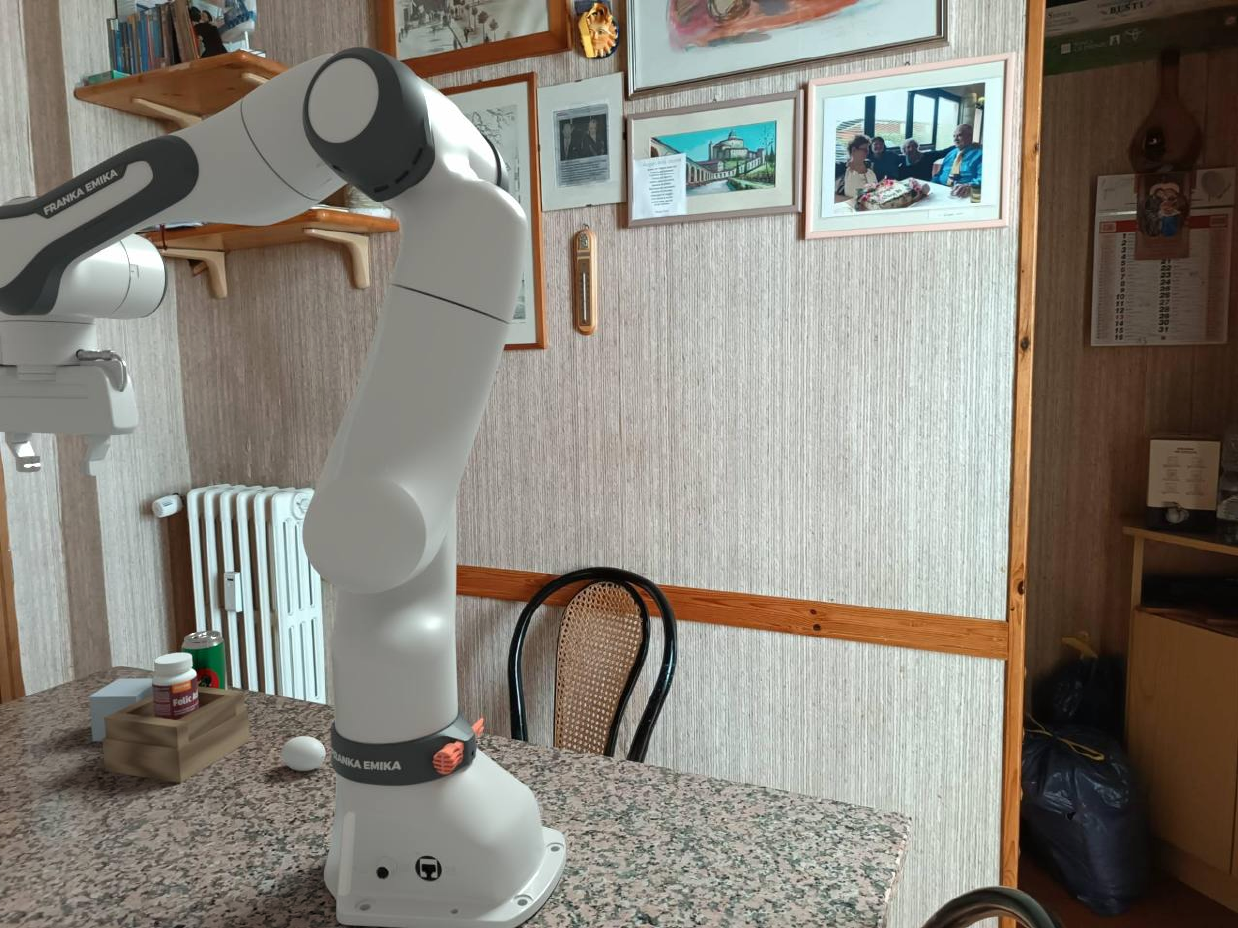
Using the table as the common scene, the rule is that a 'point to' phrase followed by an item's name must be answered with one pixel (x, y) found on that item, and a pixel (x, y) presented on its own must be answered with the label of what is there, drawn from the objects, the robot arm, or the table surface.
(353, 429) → the robot arm
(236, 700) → the wooden open box
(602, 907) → the table surface
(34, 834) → the table surface
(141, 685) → the slate block
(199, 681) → the soda can
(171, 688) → the pill bottle
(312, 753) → the egg
